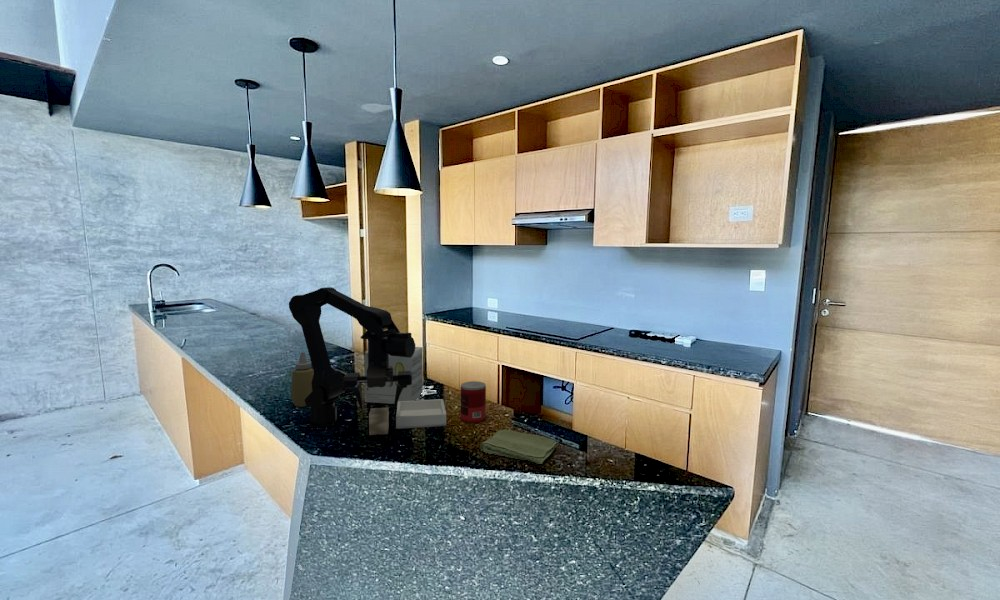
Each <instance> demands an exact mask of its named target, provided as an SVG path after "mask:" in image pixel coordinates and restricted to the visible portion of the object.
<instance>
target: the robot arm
mask: <svg viewBox="0 0 1000 600" xmlns="http://www.w3.org/2000/svg"><path fill="white" fill-rule="evenodd" d="M327 304H328V305H329V306H332V307H333V308H335V309H337V310H338V311H340V312H343V313H344V314H346V315H349V316H350V317H352V318H354V319H355V320H356V321H357V322H358V324H359V325H360V326H361V327H362V328H363V329H365V332H364V333H363V334H361V336H360V339H361V340H362V339H363V340H367V351H368V369H367V376H365V375H361V373H360V372H347V373H346V374H345V375H344V377H342V372H341V371H340V370H338V371H336V370H335V369H334V367H333V368H332V364H331V360H330V357H329V353H328V350H327V347H326V346H327V345H326V343H325V339H324V335H323V331H322V328H321V324H320V319H321V316H322V315H321V314H322V307H323V306H326V305H327ZM288 308H289V311H290V313H291V315H292V318H293V319H294V320H295V321H296V322H297V323H298V324H299V325H300V327H301V329H302V333H303V338H304V341H305V345H306V347H307V352H308V355H309V360H310V363H311V368H312V369H313V371H314V375H313V379H312V383H311V385H312V392H311V393H310V394H309V395H308V397H307V398H306V399H305V403H306V406H305V407H308V408H310V424H309V426H308V427H309V428H318V427H321V428H322V427H332V426H333V425H334V423H335V422H336V421H337V419H338V412H337V411H338V406H337V405H335V404H336V402H335V401H338V400H339V399H340V396H341V394H342V392H343V390H344V389H346V388H347V390H348V391H351V392H352V393H353V394H354V396H355V398H356V401H357V403H358V405H359V409H360V410H361V411H362V410H363V409H364V400H363V399H364V398H363V389H362V384H365V383H367V387H369V388H373V387H384V386H385V385H386V382H397V388H396V395H395V402H394V404H393V406H394V407H393V408H394V409H396V408H397V405H398V404H397V403H398V399H399V396H400V394H401V392H402V390H403V388H407V385H412V373H411V372H410V371H398V375H393V368H389V355H390V356H397V357H409V358H410V357H412V356H413V354H414V351H415V347H416V343H415V339H414V338H413V337H412V333H411V332H400V330H399V328H398V327H397V325H396V323H395V322H394V321H393V317H392V315H391V313H390V312H389V311H387V310H384V309H381V308H379V307H378V308H377V307H373V306H369V305H368V306H367V305H365V304H364V303H361V302H359V301H357V300H355V299H354V298H352V297H350V296H348V295H346V294H344V293H342V292H340V291H338V290H336V289H335V288H334V287H333V286H332V287H331V286H330V287H329V286H328V287H320V288H318V289H316V290H314V291H310V292H307V293H304V294H296V295H294V296H292V297H290V300H289V302H288Z"/></svg>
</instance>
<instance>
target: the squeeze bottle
mask: <svg viewBox="0 0 1000 600" xmlns="http://www.w3.org/2000/svg"><path fill="white" fill-rule="evenodd" d="M313 375H314V371H313V367H312V363H311V361H308V360H307V355H306V353H305V352H304V351H303V352H302V351H301V352H300V356H299V360H298V362H296V363H295V369H294V370H293V371H292V375H291V376H292V377H291V386H290V397H291V400H292V403H293V405H294V407H297V408H303V407H307V406H306V403H305V399H306V398H307V397H308V395H309V394H310V393H311V392H312V385H311V383H312V379H313Z"/></svg>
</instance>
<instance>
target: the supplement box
mask: <svg viewBox="0 0 1000 600" xmlns="http://www.w3.org/2000/svg"><path fill="white" fill-rule="evenodd" d="M389 368H393V375H398V371H410V372H411V373H412V385H407V388H403V390H402V392H401V394H400V396H399V399H398V401H415V400H416V399H417V398H418V397H419V396H420V395H421V393H422V392H423V347H422V346H415V351H414V354H413V356H412V357H410V358H409V357H397V356H390V355H389ZM367 369H368V350H366V351H364V376H367ZM396 388H397V382H386V385H385V386H384V387H373V388H369V387H367V383H364V402H365V403H374V404H375V403H378V404H388V405H392V404H393V405H394V402H395V395H396ZM421 396H422V395H421ZM421 396H420V397H421ZM420 397H419V398H420ZM419 398H418V399H419ZM418 399H417V400H418ZM397 405H398V403H397Z"/></svg>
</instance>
